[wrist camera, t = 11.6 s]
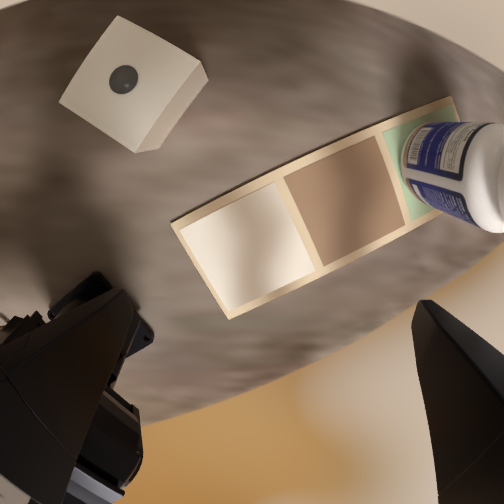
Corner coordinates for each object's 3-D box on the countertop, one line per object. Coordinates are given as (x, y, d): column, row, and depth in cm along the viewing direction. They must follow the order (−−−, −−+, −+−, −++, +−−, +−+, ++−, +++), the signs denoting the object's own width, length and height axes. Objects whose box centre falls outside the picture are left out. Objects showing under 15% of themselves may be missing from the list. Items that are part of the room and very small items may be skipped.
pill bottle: (466, 191, 19) (568, 231, 10) (407, 214, 20) (508, 272, 10) (452, 114, 17) (562, 120, 8) (387, 131, 18) (499, 138, 8)
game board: (228, 318, 22) (228, 319, 22) (170, 223, 19) (170, 224, 19) (476, 191, 20) (478, 192, 19) (449, 95, 17) (451, 95, 17)
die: (159, 148, 18) (134, 153, 13) (97, 107, 17) (57, 102, 12) (208, 80, 17) (200, 60, 12) (143, 41, 15) (117, 14, 11)
